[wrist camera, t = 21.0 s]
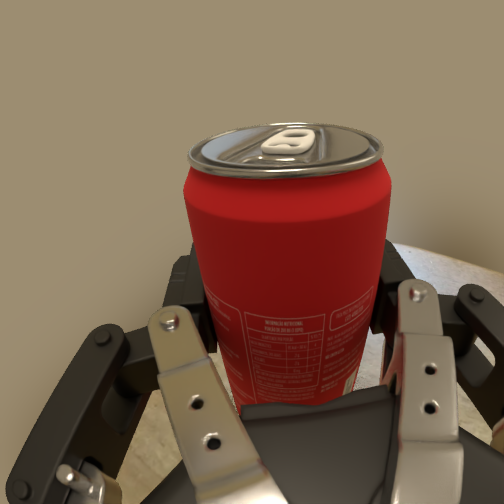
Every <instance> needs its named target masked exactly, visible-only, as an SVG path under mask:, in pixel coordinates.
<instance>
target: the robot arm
mask: <svg viewBox="0 0 504 504" xmlns="http://www.w3.org/2000/svg"><path fill="white" fill-rule="evenodd" d="M370 329H371V331H372V334H379V333H383V334H384V336H385V339H384V343H383V349H382V362H381V373H380V383H379V386H375V387H370V388H365V389H360V390H355V391H352V392H349V393H347V394H345V395H342V396H340V397H338V398H335V399H333V400H330V401H328V402H326V403H323V404H320V405H305V404H294V403H284V402H271V403H260V404H247V405H241V415H239V416H238V414H237V412H236V410H235V407H234V405H233V403H232V401H231V399H230V397H229V395H228V393H227V391H226V389H225V387H224V385H223V382H222V380H221V378H220V376H219V374H218V372H217V370H216V367H215V365H214V363H213V361H212V359H211V357H209V356H208V353H217V342H218V340H217V336H216V333H215V329H214V325H213V321H212V317H211V313H210V309H209V305H208V301H207V297H206V293H205V289H204V285H203V281H202V276H201V272H200V268H199V263H198V259H197V255H196V250H195V246H194V242H193V244H192V248H191V253H190V255H187V256H181V257H180V258H179V259H178V260H177V261H176V262H175V264H174V265H173V268H172V272H171V276H170V280H169V284H168V287H167V291H166V295H165V298H164V302H163V306H162V308H161V309H159V310H157V311H156V312H155V313H154V314H152V316H151V317H150V319H149V321H148V326H146V327H143V328H141V329H137V330H134V331H131V332H128V333H124V332H123V330H122V328H120V326H118V325H115V324H105V325H101V326H99V327H97V328H96V329H94V330H93V331H92V332H91V333H90V334H89V335H88V336H87V338H86V339H85V341H84V342H83V344H82V345H81V347H80V349H79V350H78V352H77V353H76V355H75V356H74V358H73V360H72V361H71V363H70V364H69V366H68V368H67V369H66V371H65V373H64V374H63V376H62V378H61V379H60V381H59V383H58V385H57V386H56V388H55V389H54V391H53V393H52V395H51V396H50V398H49V400H48V402H47V403H46V405H45V407H44V409H43V411H42V412H41V414H40V416H39V418H38V419H37V422H36V423H35V425H34V427H33V429H32V431H31V432H30V435H29V436H28V438H27V440H26V442H25V444H24V446H23V448H22V450H21V452H20V454H19V456H18V458H17V460H16V462H15V464H14V466H13V468H12V471H11V473H10V475H9V477H8V479H7V482H6V496H7V500H8V502H9V504H122V491H121V488H120V486H119V484H118V483H117V482H116V481H115V480H116V477H117V475H118V472H119V470H120V467H121V465H122V462H123V460H124V457H125V455H126V452H127V450H128V448H129V445H130V443H131V440H132V438H133V435H134V433H135V431H136V428H137V426H138V423H139V421H140V419H141V416H142V414H143V412H144V409H145V407H146V404H147V402H148V400H149V397H150V395H151V393H152V391H154V390H158V389H160V390H161V394H162V397H163V400H164V404H165V407H166V410H167V414H168V417H169V420H170V423H171V426H172V429H173V432H174V435H175V438H176V441H177V444H178V447H179V450H180V453H181V456H182V458H183V459H182V460H181V461H180V463H179V464H178V465H177V466H176V467H175V468H174V469H173V470H172V471H171V472H170V473H169V474H168V475H167V476H166V477H165V479H164V480H163V481H162V482H161V483H160V484H159V485H158V486H157V487H156V488H155V489H154V490H153V491H152V492H151V493H150V494H149V495H148V496H147V497H146V498H145V499H144V500H143V501H142V502H141V503H140V504H504V306H503V305H502V304H501V303H500V302H499V301H498V300H496V299H495V298H494V297H493V296H492V295H491V294H490V293H489V292H488V291H487V290H486V289H484V288H483V287H481V286H479V285H475V284H466V285H463V286H462V287H461V288H460V289H459V292H458V294H457V296H453V295H441V294H437V291H436V289H435V288H434V287H433V286H432V285H431V284H429V283H428V282H426V281H423V280H420V279H416V278H415V277H414V275H413V274H412V272H411V271H410V269H409V268H408V266H407V265H406V263H405V262H404V260H403V259H401V256H400V255H399V253H398V252H397V250H396V249H395V247H394V246H393V245H392V243H391V242H389V241H388V240H386V239H385V245H384V252H383V258H382V265H381V270H380V276H379V282H378V287H377V292H376V297H375V302H374V307H373V312H372V317H371V321H370ZM477 337H479V338H480V339H481V340H482V341H483V342H484V344H485V345H486V346H487V347H488V348H489V349H490V351H491V352H492V353H493V355H494V357H495V366H494V367H493V365H492V364H491V363H490V362H489V361H488V359H487V358H486V357H485V356H484V355H483V353H482V352H481V351H480V350H479V349H478V348H477V346H476V345H475V344H474V342H475V341H476V339H477ZM457 382H458V384H459V385H460V386H461V388H462V389H463V390H464V392H465V393H466V394H467V396H468V397H469V398H470V400H471V401H472V403H473V404H474V405H475V407H476V408H477V410H478V411H479V412H480V414H481V415H482V417H483V418H484V420H485V421H486V423H487V424H488V425H489V427H490V428H491V430H492V441H491V442H490V446H489V445H488V444H486V443H485V442H483V441H482V440H480V439H478V438H477V437H475V436H474V435H472V434H471V433H469V432H467V431H466V430H464V429H463V428H461V427H460V426H458V396H457Z"/></svg>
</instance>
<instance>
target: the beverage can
mask: <svg viewBox="0 0 504 504" xmlns="http://www.w3.org/2000/svg"><path fill="white" fill-rule="evenodd" d="M383 152H384V148H383V144H382V143H381V141H379V140H378V139H377V138H376V137H374V136H372V135H371V134H368V133H366V132H363V131H360V130H357V129H353V128H348V127H343V126H337V125H330V124H329V125H328V124H319V123H277V124H266V125H257V126H251V127H244V128H239V129H234V130H230V131H227V132H223V133H220V134H217V135H214V136H211V137H209V138H206V139H204V140H202V141H200V142H198V143H197V144H195V145H194V146H193V147H192V148H191V149H190V150H189V152H188V155H187V158H188V162H189V164H190V165H191V167H190V170H189V173H188V176H187V179H186V182H185V185H184V189H183V192H184V199H185V204H186V209H187V214H188V218H189V222H190V227H191V232H192V237H193V241H194V246H195V250H196V255H197V259H198V263H199V268H200V272H201V276H202V281H203V285H204V289H205V293H206V297H207V301H208V305H209V309H210V313H211V317H212V321H213V325H214V329H215V333H216V336H217V340H218V344H219V348H220V351H221V355H222V359H223V362H224V366H225V369H226V373H227V377H228V380H229V384H230V387H231V391H232V394H233V397H234V401H235V404H236V408H237V410H238V413H239V415H241V405H247V404H260V403H271V402H284V403H294V404H305V405H320V404H323V403H326V402H328V401H330V400H333V399H335V398H338V397H340V396H342V395H345V394H347V393H349V392H352V391H353V387H354V384H355V380H356V377H357V373H358V370H359V366H360V362H361V358H362V355H363V351H364V347H365V343H366V339H367V334H368V330H369V326H370V321H371V317H372V312H373V307H374V302H375V297H376V292H377V287H378V282H379V276H380V270H381V265H382V258H383V252H384V245H385V238H386V231H387V223H388V215H389V206H390V197H391V179H390V176H389V174H388V171H387V169H386V167H385V165H384V163H383V161H382V158H381V157H382V155H383Z"/></svg>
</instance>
